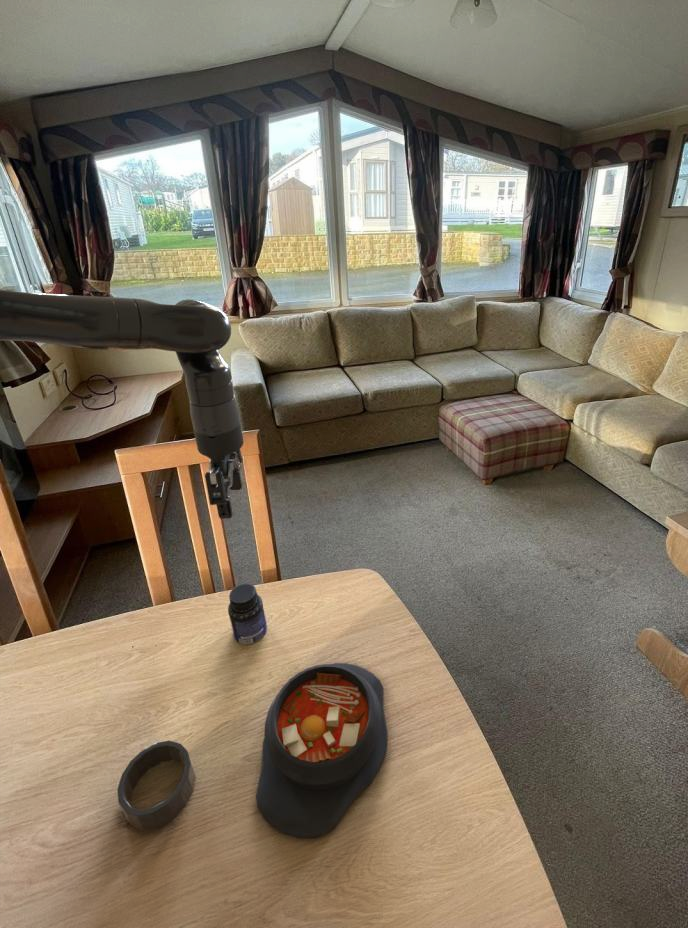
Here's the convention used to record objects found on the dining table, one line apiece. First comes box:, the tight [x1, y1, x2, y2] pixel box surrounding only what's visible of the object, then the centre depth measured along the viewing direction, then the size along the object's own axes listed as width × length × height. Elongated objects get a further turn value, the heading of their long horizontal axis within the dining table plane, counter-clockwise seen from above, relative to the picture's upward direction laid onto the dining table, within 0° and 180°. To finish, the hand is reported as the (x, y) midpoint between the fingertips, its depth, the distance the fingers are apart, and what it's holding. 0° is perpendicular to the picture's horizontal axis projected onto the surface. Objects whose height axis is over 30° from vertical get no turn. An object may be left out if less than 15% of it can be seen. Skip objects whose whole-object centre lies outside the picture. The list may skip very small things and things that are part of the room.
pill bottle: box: [227, 582, 268, 646], centre depth 89 cm, size 6×6×11 cm
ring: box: [117, 740, 196, 831], centre depth 66 cm, size 9×9×5 cm
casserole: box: [255, 662, 389, 839], centre depth 71 cm, size 25×19×8 cm
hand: (231, 502), depth 87 cm, fingers open, 8 cm apart
